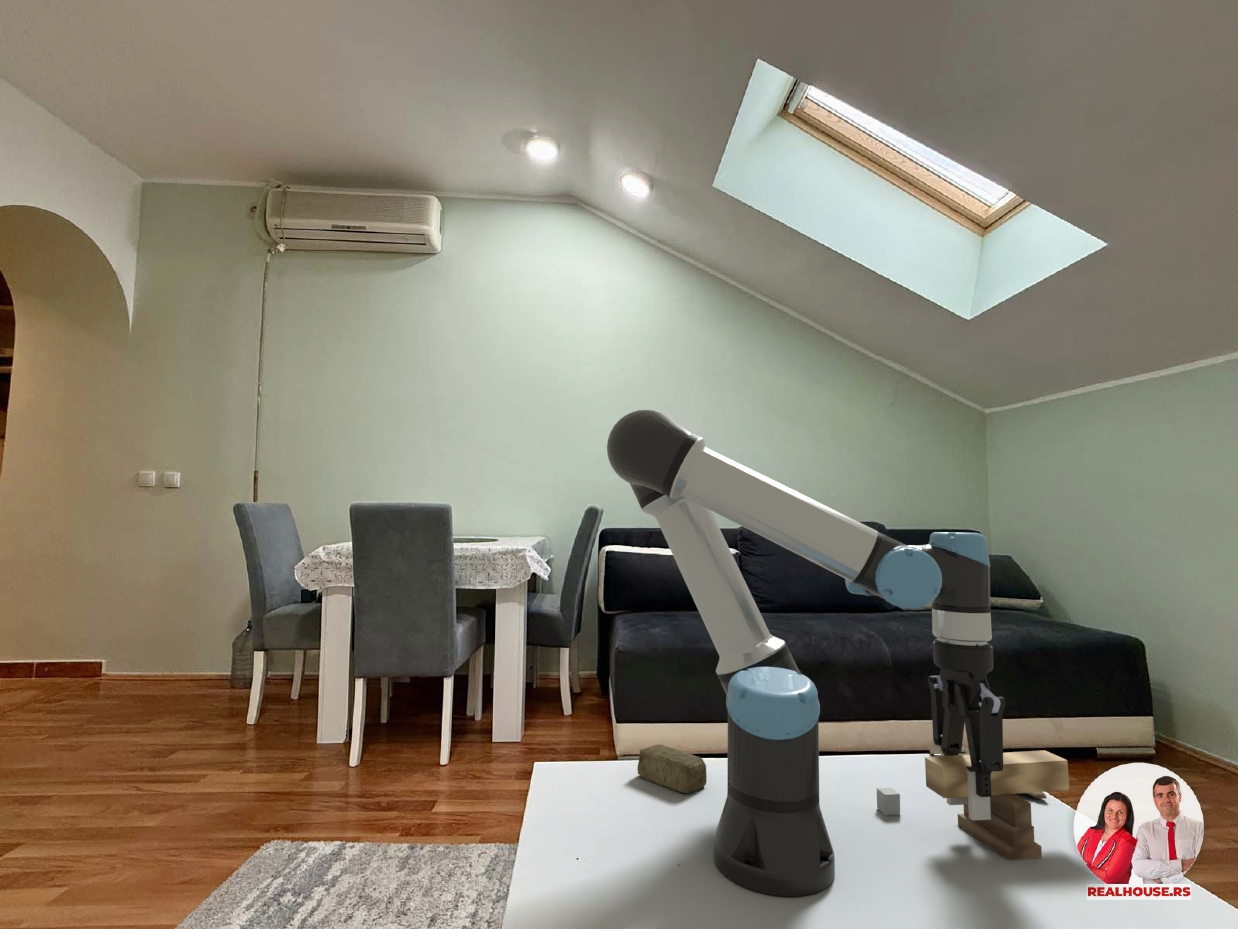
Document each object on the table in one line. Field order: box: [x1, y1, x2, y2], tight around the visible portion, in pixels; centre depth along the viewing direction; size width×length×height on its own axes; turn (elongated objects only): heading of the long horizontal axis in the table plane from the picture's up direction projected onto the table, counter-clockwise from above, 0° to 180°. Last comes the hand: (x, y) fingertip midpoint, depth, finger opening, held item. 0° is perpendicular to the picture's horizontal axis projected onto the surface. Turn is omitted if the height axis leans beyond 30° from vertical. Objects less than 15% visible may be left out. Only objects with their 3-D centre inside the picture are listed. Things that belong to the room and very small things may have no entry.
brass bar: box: [924, 749, 1070, 799], centre depth 90 cm, size 19×4×4 cm, turn 98°
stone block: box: [637, 743, 708, 794], centre depth 108 cm, size 6×12×5 cm, turn 47°
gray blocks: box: [876, 787, 901, 816], centre depth 99 cm, size 17×2×3 cm, turn 97°
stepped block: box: [957, 794, 1043, 861], centre depth 90 cm, size 5×10×7 cm, turn 8°
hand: (968, 810), depth 89 cm, fingers closed on brass bar, 4 cm apart
